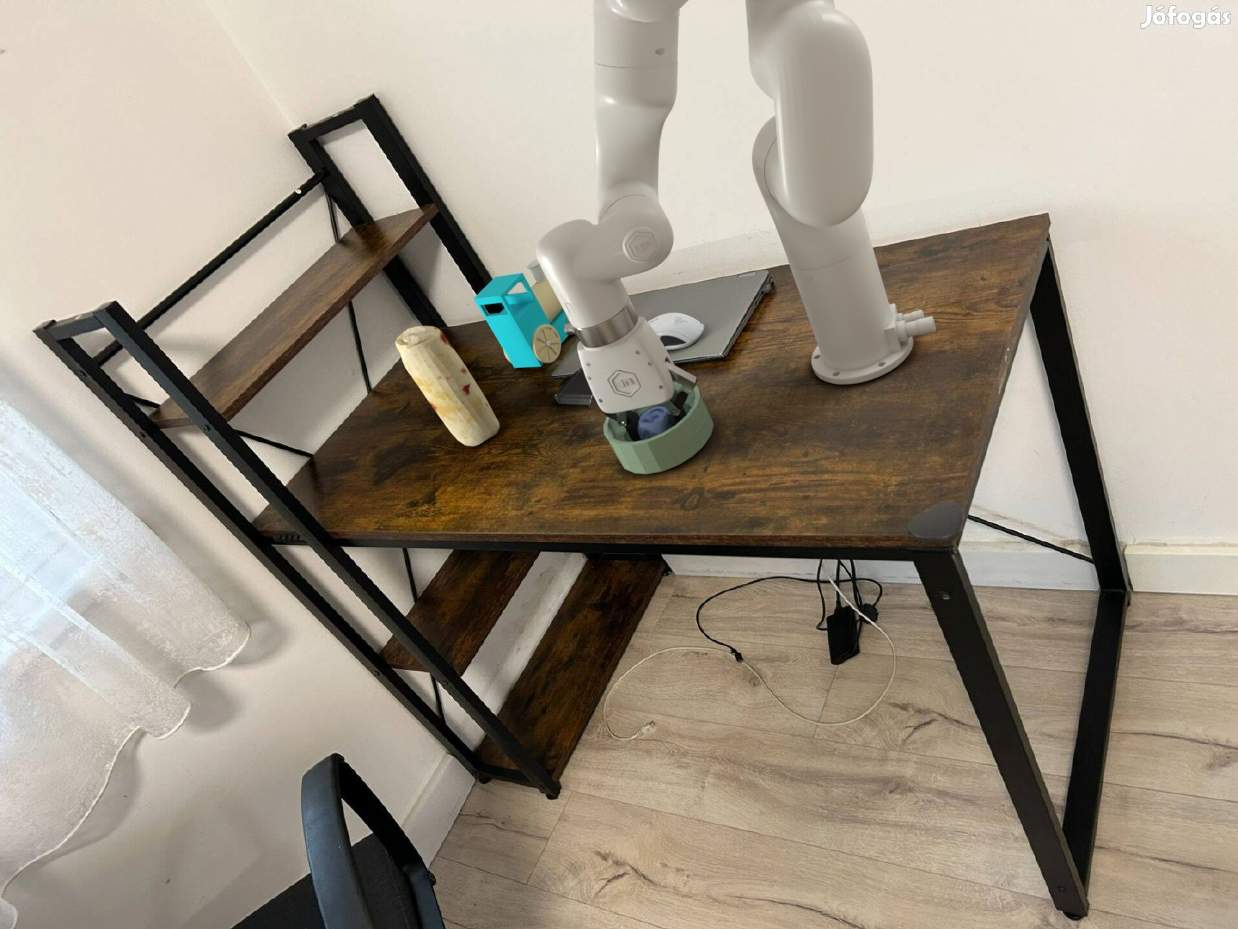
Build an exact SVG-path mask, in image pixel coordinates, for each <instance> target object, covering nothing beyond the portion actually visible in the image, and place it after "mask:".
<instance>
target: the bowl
mask: <svg viewBox="0 0 1238 929" xmlns="http://www.w3.org/2000/svg"><path fill="white" fill-rule="evenodd" d="M673 384H674V388H675V389H676V390H677V391H679V389H680V388H681V387H682V385H681V384H679V383H677V382H674V383H673ZM654 407H664V406H663V405H662V404H657V405H652V406H648V407H643V408H639V409H634V410H632V412H633V411H636V413H638V415H639V417H641V416H642V414H643V413H645V412H646V411H647V410H649V409H651V408H654ZM683 408H684V410H685V412H686V414H687V415H686V416H685V417H684V418H683V419H682V420H681V421H680V422H678V423H677V424H676V425H675V426H673V427H672V428H670V429H668V430H667V431H665V432H663V433H662V434H659V435H657V436H654V437H652V438H649V439H646V440H641V441H636V442H634V441H632V440H631V438H630V436H629V434H628V432H627V431H626V429H625V427H623V426H620V425H619V424H618V421H615V420H613V419H611V418H609V417H607V416H606V418H605V420H604V422H603V435H604V437H605V439H606V440H607V442H608V444H609V446H610V448H611V449H612V451H613V453H614V455H615V457H616V458H617V460H618V462H619V463H620V465H621V466H622V467H623V469H624V470H627V471H628V472H631V473H632V474H642V475H649V474H655V473H661V472H664V471H667V470H669V469H672V468H676V467H678V466H679V465H681V464H683V463H684V462H686V461H687V460H689V459H692V457H694V456H695V455H696V454H697V453H698V452H699V451H700V450H701V449H702V448H704V447H705V445H706V444H707V442H708V440H709V439H710V437H711V436H712V434H713V433H712V432H713V429H714V421H713V416H712V414H711V412H710V409H709V407H708V405H707V403H706V401H705V398H704V397H703V394H702V392H701V390H700V387H699V386H698V385H697V384H696V386H695V388H694V389H693V391H692V392H691V394H690V395H689V396H688V397H687V400H686V402H685V403H684V405H683Z"/></svg>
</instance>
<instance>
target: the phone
mask: <svg viewBox="0 0 1238 929" xmlns="http://www.w3.org/2000/svg"><path fill="white" fill-rule="evenodd" d="M592 394H593V393H592V391H591V389H590V386H589V384H588V382H587V379H586V376H585V374H584V371H583V368H582V367H580V368H578V369H576V371H575V372H574V373H573V374H572V375H571V376H570V377H569V378H568V379H567V380H566V381H565V383H564V384H563V385H562V386H561V387H560V388H559V389H558V391H557V392H556V393H555V394H554V399H555V401H556V402H557V404H560V405H577V406H578V405H584V406H589V403H590V400H591V397H592Z"/></svg>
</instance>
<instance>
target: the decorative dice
mask: <svg viewBox="0 0 1238 929" xmlns="http://www.w3.org/2000/svg"><path fill="white" fill-rule="evenodd" d="M669 416H670V412H669V411H668V410H667V409H666V408H665V407H654V408H651V409H649V410H647V411H646V412H645V413H643V414H642V416H641V417H640V419H639V421H638V427H637V429H638V434H639V437H640V438H641V440H646V439H649V438H652V437H654V436H657V435H659V434H662V433H663V432H665V431H667V430H668V429H670V428H672V427H673V426H672V424H671V422H670V420H669Z"/></svg>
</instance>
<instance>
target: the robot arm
mask: <svg viewBox="0 0 1238 929" xmlns="http://www.w3.org/2000/svg"><path fill="white" fill-rule="evenodd" d="M592 2H593V4H592V8H593V11H592V13H593V15H592V16H593V57H594V58H593V59H594V60H593V63H594V64H593V66H594V121H595V130H594V131H595V132H594V133H595V137H594V138H595V140H594V159H595V160H594V170H595V171H594V175H595V178H594V180H595V208H596V209H595V212H596V213H595V214H596V221H597V223H596V224H593V223H592V222H591V221H589V220H586V219H573V220H569V221H566V222H563V223H561V224H558V225H557V226H555V227H554V228H552V229H551V230H549V231H547V233H545V234H544V235H543V236H542V237H541V238H540V239H539V240H538V242H537V244H536V247H535V257H536V260H538V262H539V264H540V266H541V268H542V270H543V272H544V274H545V275H546V277H547V279H548V281H549V283H550V285H551V287H552V289H553V291H554V292H555V294H556V296H557V298H558V300H559V302H560V304H561V306H562V307H563V309H564V311H565V313H566V315H567V317H568V319H569V321H570V323H569V324H566V325H565V327H564V328H565V332H566V334H567V335H568V336H570V335H575V337H576V338H577V341H578V343H577V344H576V350H577V355H578V359H579V361H580V365H581V368H583V371H584V374H585V376H586V379H587V382H588V384H589V386H590V389H591V391H592V393H593V394H592V397H591V400H590V403H589V405H588V408H589V410H591V411H594V412H596V413H599V414H603V415H604V416H605V417H606V418H607V417H609V418H611V419H613V420H615V421H618V424H619V425H620V426H623V427H625V429H626V431H627V432H628V434H629V436H630V438H631V440H632V441H634V442H636V441H641V438H640V437H639V434H638V429H637V427H638V421H639V419H640V417H639V415H638V413H636V411H633V412H632V410H634V409H639V408H643V407H648V406H652V405H657V404H662V405H663V406H664V407H665V408H666V409H667V410H668V411H669V412H670V416H669V420H670V422H671V424H672V426H675V425H676V424H677V423H678V422H680V421H681V420H682V419H683V418H684V417H685V416H686V415H687V414H686V412H685V410H684V408H683V405H684V403H685V402H686V400H687V397H688V396H689V395H690V394H691V392H692V391H693V389H694V388H695V386H696V385H697V383H698V378H697V376H695V375H693V374H691V373H690V372H688V371H686V370H684V369H682V368H680V367H679V366H677V365H675V364H674V361H673V359H672V358H671V355H670V354H669V352H668V350H666V348H665V347H664V345H663V343H662V342H661V340H660V338H659V337H658V335H657V334H656V333H655V331H654V330H653V328H652V327H651V326H650V324H649V323H648V321H647V319H646V318H645V317H644V316H639V315H638V313H637V310H636V309H635V307H634V305H633V302H632V300H631V298H630V296H629V293H628V292H627V289H626V287H625V285H624V283H623V281H622V279H623V278H628V277H632V276H634V275H639V274H642V273H645V272H649V271H651V270H653V269H655V268H657V267H659V265H661V264H662V263H664V262H665V260H666V259H667V258H668V257H669V255H670V253H671V252H672V249H673V247H674V246H673V245H674V238H675V237H674V231H673V227H672V224H671V222H670V220H669V217H668V216H667V214H666V212H665V210H663V208H662V205H661V203H660V201H659V170H660V169H659V168H660V167H659V166H660V147H661V139H662V134H663V129H664V125H665V122H666V120H667V118H668V117H669V115H670V114H671V112H672V111H673V108H674V106H675V102H676V99H677V94H678V72H679V71H678V70H679V66H678V65H679V60H678V57H679V55H678V54H679V52H678V51H679V30H680V28H679V26H680V24H679V23H680V16H681V15H680V13H681V11H680V9H681V8H682V7H684V5H686V3H688V2H689V0H592ZM835 6H836V5H835V0H745V14H746V23H747V24H746V25H747V27H746V28H747V40H748V41H747V42H748V62H749V63H748V64H749V69H750V73H751V76H752V78H753V80H754V82H755V84H756V86H758V88H759V89H760V90H761V92H763V94H765V95H766V96H767V97H768V98H770V99H771V100H772V101H773V110H774V115H773V116H772V117H771V118H769V119H768V120H767V121H766V122H765V123H764V124H763V126H762V127H761V128H760V130H759V131H758V133H757V135H756V137H755V140H754V142H753V146H752V152H751V166H752V170H753V175H754V179H755V181H756V184H757V186H758V189H759V192H760V194H761V196H762V199H763V201H764V203H765V205H766V208H767V209H768V213H769V215H770V217H771V219H772V221H773V223H774V226H775V230H776V231H777V233H778V236H779V239H780V241H781V244H782V248H783V251H784V253H785V255H786V258H787V261H788V262H787V263H788V265H789V268H790V271H791V273H792V276H793V279H794V282H795V284H796V287H797V290H798V293H799V296H800V299H801V301H802V304H803V307H804V310H805V312H806V315H807V319H808V322H809V324H810V327H811V330H812V332H813V335H814V338H815V341H816V344H817V346H816V347H815V349H814V350H813V352H812V355H811V358H810V359H811V360H810V363H811V364H810V365H811V367H812V370H813V372H814V374H815V376H817V377H818V379H820V380H822V381H824V382H825V383H830V384H834V385H853V384H861V383H865V382H868V381H871V380H874V379H877V378H879V377H881V376H884V375H886V374H887V373H890V372H891V371H893V370H894V369H896V368H897V367H899V366H900V365H901V364H902V363H903V362H904V361H905V360H906V359H907V357H908V356H909V355H910V353H911V351H912V350H913V346H914V337H915V336H922V335H927V334H931V333H935V332H937V330H936V323H935V319H934V316H933V315H931V316H926V317H925V314H924V310H923V309H919V310H915V311H912V312H908V313H905V314H904V313H903V312H898V309H897V305H896V303H895V302H894V303H890V302H889V298H888V295H887V291H886V288H885V285H884V282H883V278H882V275H881V271H880V269H879V264H878V261H877V257H876V255H875V251H874V247H873V244H872V240H871V237H870V232H869V228H868V225H867V221H866V218H865V214H864V212H863V209H862V205H863V204H864V202H865V200H866V199H867V196H868V193H869V191H870V189H871V184H872V180H873V173H874V158H875V157H874V153H875V152H874V143H875V142H874V85H873V82H874V81H873V66H872V58H871V54H870V50H869V46H868V43H867V40H866V38H865V36H864V34H863V31H862V30H861V28H860V27H859V26H858V25H857V23H856V22H855V21H854V20H853V19H852V18H851V17H849V15H847V14H845V13H844V12H842V11H840V10H837V9H836V7H835ZM674 382H677V383H679V384H681V385H682V387H681V388H680V389H679V391H677V390H676V389H675V388H674V384H673V383H674Z"/></svg>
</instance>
